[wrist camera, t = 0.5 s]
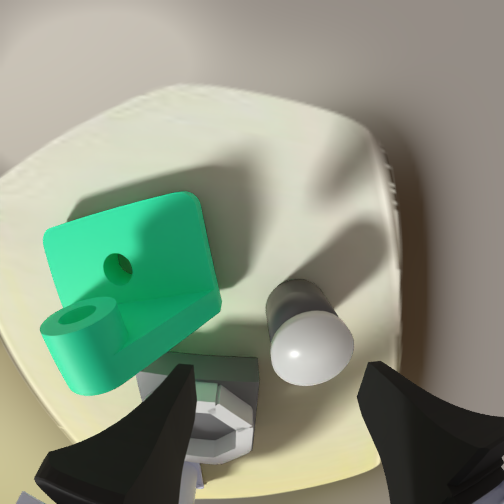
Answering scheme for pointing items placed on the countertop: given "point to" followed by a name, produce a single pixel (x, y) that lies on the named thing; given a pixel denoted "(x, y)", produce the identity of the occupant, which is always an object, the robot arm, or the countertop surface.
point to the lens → (306, 334)
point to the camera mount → (127, 289)
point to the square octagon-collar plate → (214, 403)
